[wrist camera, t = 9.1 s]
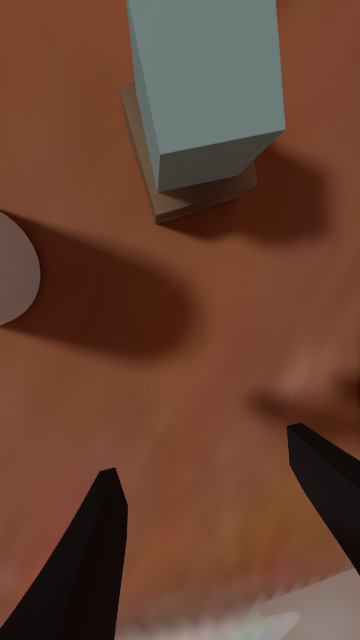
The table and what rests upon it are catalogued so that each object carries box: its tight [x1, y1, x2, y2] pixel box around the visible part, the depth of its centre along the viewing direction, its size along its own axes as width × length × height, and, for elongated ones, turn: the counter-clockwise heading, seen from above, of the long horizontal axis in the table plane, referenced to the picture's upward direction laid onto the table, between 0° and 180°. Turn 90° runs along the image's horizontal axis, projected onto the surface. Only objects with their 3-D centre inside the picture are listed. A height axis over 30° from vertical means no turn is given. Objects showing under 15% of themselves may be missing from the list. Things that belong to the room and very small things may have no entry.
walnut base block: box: [119, 82, 259, 224], centre depth 14 cm, size 6×6×4 cm
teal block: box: [127, 0, 285, 192], centre depth 10 cm, size 4×4×5 cm
